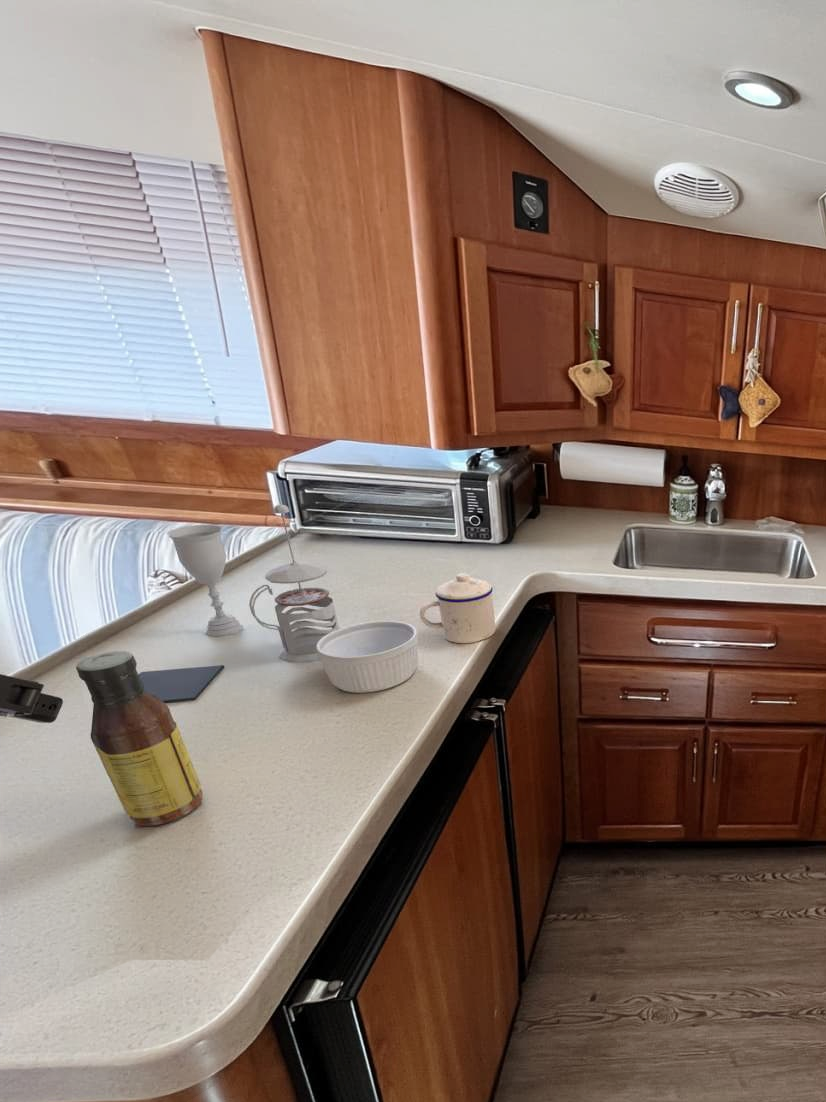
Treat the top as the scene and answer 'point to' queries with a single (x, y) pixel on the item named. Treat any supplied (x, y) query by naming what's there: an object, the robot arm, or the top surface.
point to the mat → (179, 682)
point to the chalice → (205, 568)
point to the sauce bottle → (138, 742)
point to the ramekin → (369, 655)
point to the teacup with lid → (463, 610)
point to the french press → (303, 639)
